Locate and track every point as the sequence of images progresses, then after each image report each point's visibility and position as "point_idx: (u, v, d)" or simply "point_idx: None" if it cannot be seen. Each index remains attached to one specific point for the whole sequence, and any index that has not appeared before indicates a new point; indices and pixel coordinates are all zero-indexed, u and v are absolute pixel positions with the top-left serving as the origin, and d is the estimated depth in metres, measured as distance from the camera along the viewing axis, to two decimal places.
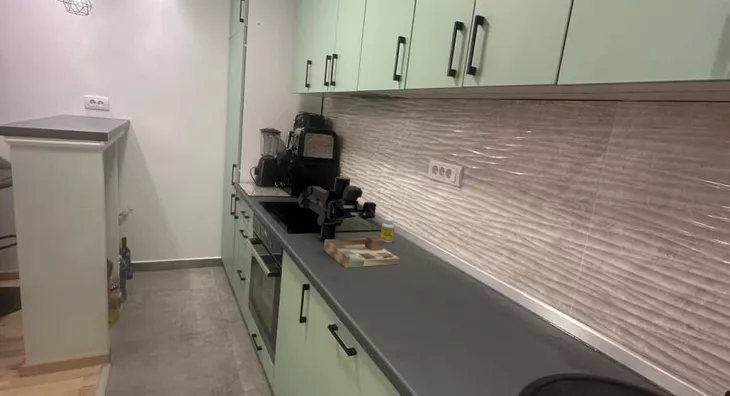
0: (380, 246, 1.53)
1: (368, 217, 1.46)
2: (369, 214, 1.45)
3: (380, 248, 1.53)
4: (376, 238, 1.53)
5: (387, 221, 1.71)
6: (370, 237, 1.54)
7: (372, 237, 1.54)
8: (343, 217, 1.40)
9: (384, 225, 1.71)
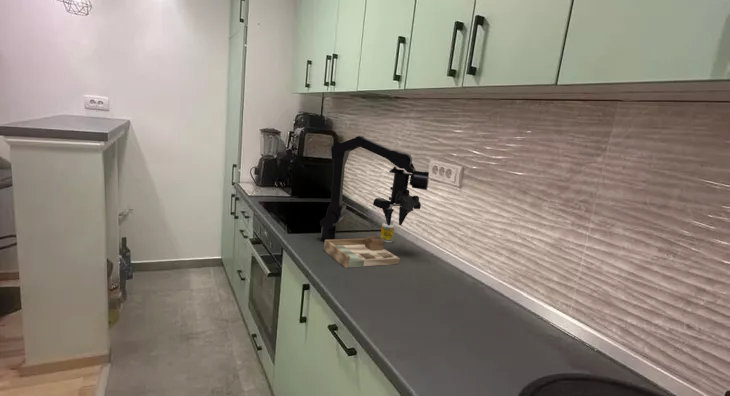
0: (380, 246, 1.53)
1: (399, 214, 1.59)
2: (401, 216, 1.58)
3: (380, 248, 1.53)
4: (376, 238, 1.53)
5: None
6: (370, 237, 1.54)
7: (372, 237, 1.54)
8: (385, 215, 1.55)
9: (384, 225, 1.71)
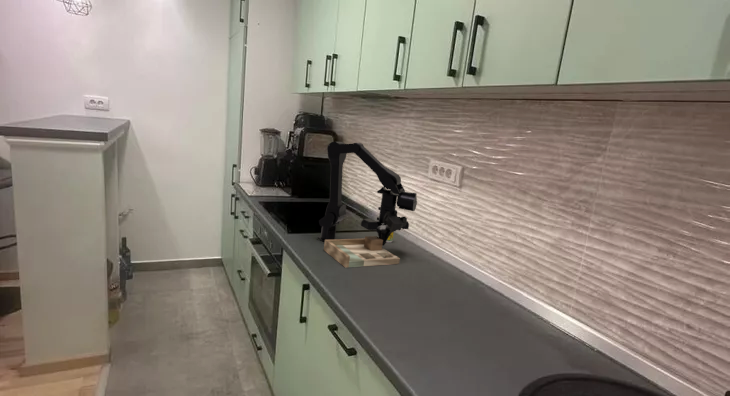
0: (379, 246, 1.52)
1: None
2: None
3: (379, 248, 1.52)
4: (375, 238, 1.53)
5: None
6: (369, 237, 1.53)
7: (371, 237, 1.54)
8: None
9: None
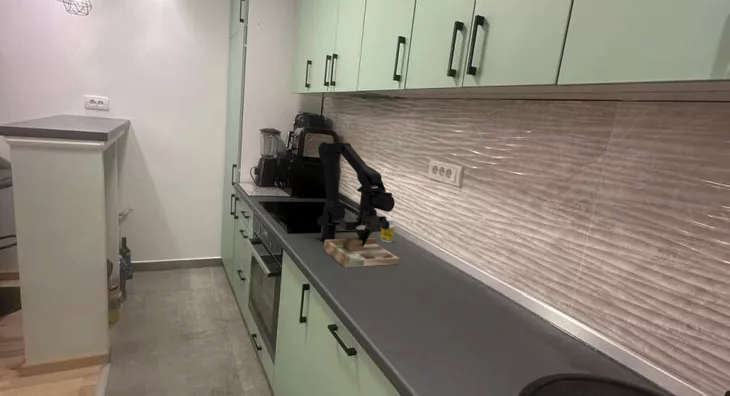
0: (358, 247, 1.48)
1: None
2: None
3: (358, 249, 1.48)
4: (354, 239, 1.48)
5: None
6: (348, 238, 1.49)
7: (350, 238, 1.49)
8: (358, 236, 1.51)
9: None
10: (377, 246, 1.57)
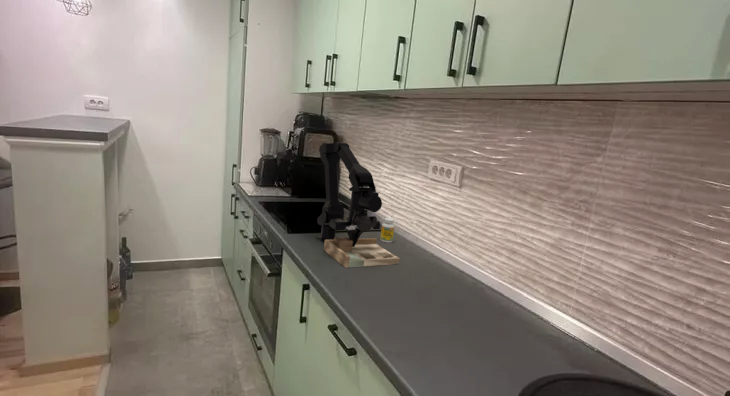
0: (349, 248, 1.46)
1: None
2: None
3: (349, 250, 1.46)
4: (344, 239, 1.46)
5: (387, 221, 1.71)
6: (338, 238, 1.47)
7: (340, 238, 1.47)
8: (349, 236, 1.49)
9: (384, 225, 1.71)
10: (377, 246, 1.57)
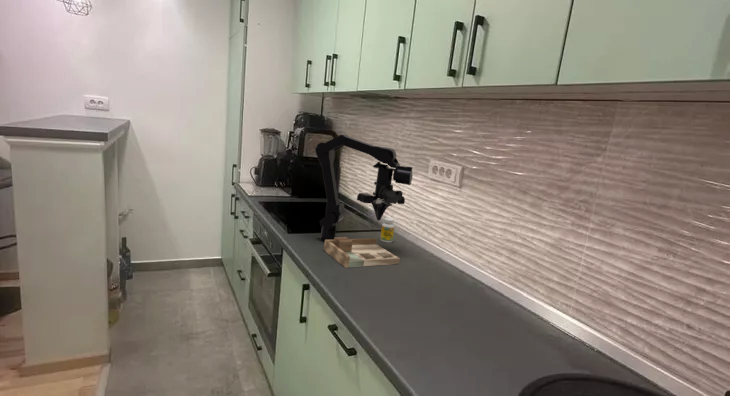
0: (349, 248, 1.46)
1: None
2: None
3: (348, 250, 1.46)
4: (344, 239, 1.46)
5: (387, 221, 1.71)
6: (338, 238, 1.47)
7: (340, 238, 1.47)
8: (374, 210, 1.57)
9: (384, 225, 1.71)
10: (377, 246, 1.57)
